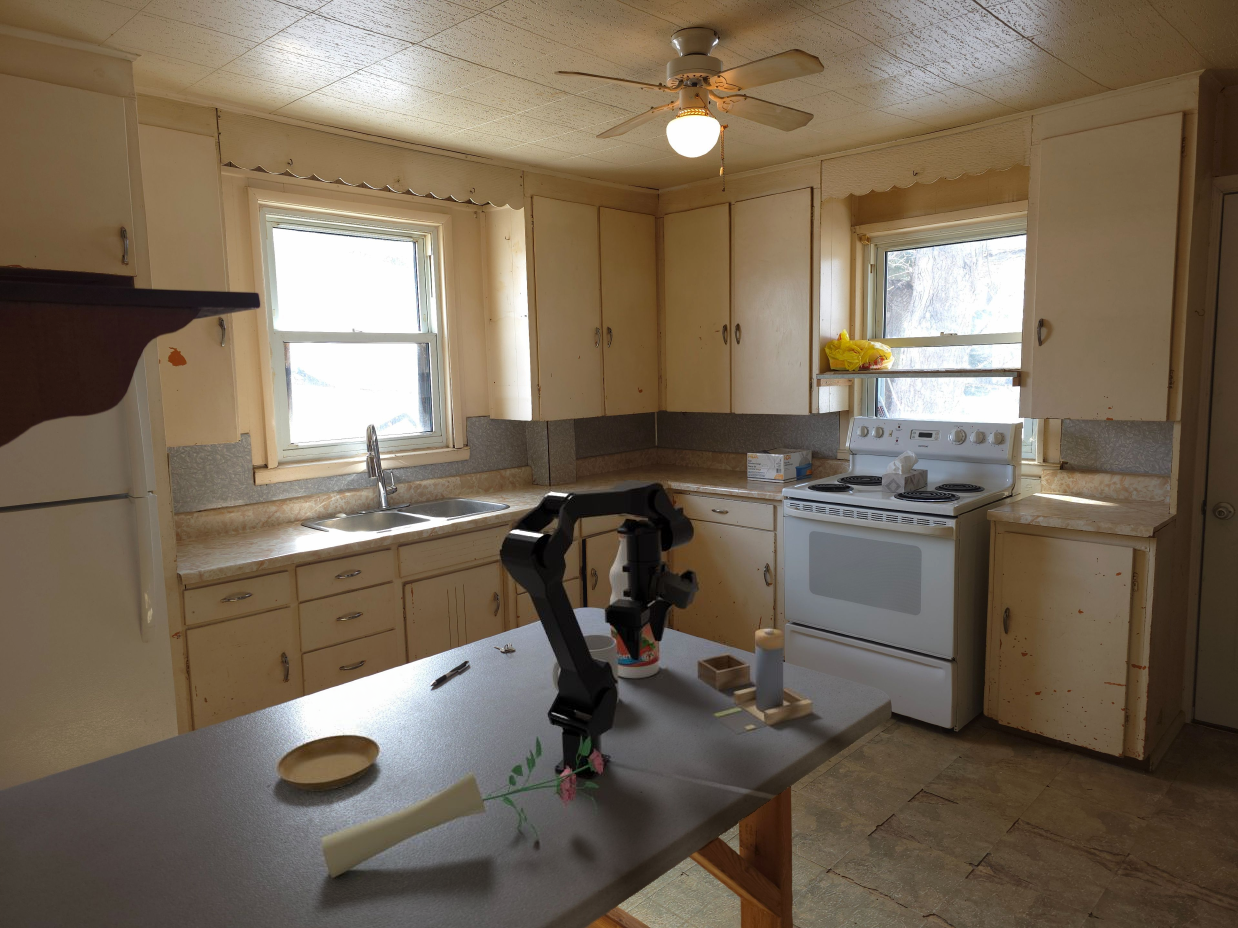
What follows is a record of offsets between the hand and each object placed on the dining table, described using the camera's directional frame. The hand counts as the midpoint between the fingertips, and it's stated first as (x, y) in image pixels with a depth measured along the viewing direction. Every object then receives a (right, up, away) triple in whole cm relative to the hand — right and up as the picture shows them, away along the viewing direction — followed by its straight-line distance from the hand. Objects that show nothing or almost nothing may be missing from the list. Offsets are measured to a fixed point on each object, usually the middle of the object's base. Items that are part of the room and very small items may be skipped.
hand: (647, 650), depth 132 cm
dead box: (+15, -10, +18) cm, 25 cm away
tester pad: (+15, -12, +1) cm, 20 cm away
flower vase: (-24, -18, -30) cm, 42 cm away
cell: (+21, -11, +5) cm, 24 cm away
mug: (-10, -12, +11) cm, 20 cm away
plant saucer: (-49, -17, -10) cm, 52 cm away
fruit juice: (-1, -10, +26) cm, 28 cm away
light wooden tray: (+22, -12, +5) cm, 25 cm away
